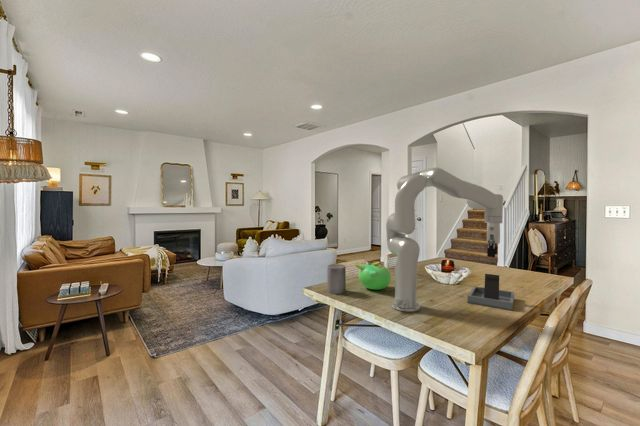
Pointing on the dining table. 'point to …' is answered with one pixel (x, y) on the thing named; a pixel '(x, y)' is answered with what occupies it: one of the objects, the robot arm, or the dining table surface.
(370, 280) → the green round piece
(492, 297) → the door stopper
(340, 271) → the pillar candle
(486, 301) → the tray
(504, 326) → the dining table surface
